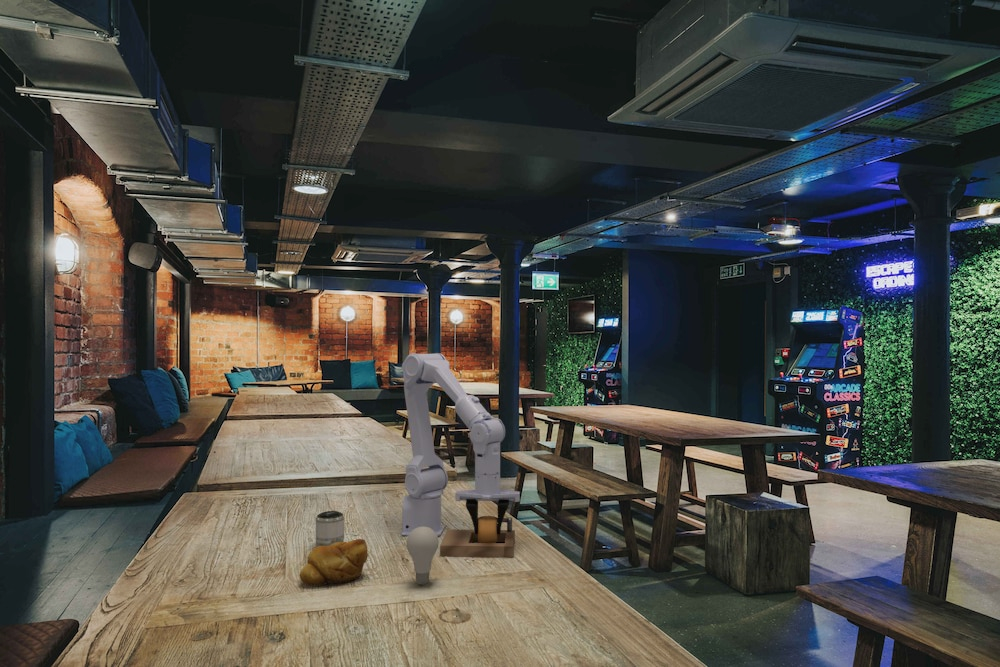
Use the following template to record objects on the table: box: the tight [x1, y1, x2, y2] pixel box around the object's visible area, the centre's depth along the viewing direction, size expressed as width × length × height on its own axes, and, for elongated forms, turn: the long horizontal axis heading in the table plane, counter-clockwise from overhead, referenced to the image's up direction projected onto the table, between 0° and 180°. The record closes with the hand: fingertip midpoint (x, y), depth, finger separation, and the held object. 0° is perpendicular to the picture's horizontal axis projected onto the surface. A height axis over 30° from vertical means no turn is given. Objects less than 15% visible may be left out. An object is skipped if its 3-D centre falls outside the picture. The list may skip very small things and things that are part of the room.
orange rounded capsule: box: [478, 515, 498, 543], centre depth 140 cm, size 4×4×5 cm
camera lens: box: [315, 510, 345, 547], centre depth 141 cm, size 6×6×8 cm
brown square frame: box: [439, 528, 516, 559], centre depth 140 cm, size 16×12×2 cm
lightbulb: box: [406, 526, 440, 586], centre depth 119 cm, size 6×6×11 cm
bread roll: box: [299, 538, 369, 587], centre depth 122 cm, size 13×10×8 cm
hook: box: [497, 516, 513, 532], centre depth 145 cm, size 8×1×6 cm, turn 87°
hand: (487, 532), depth 140 cm, fingers closed on orange rounded capsule, 4 cm apart
